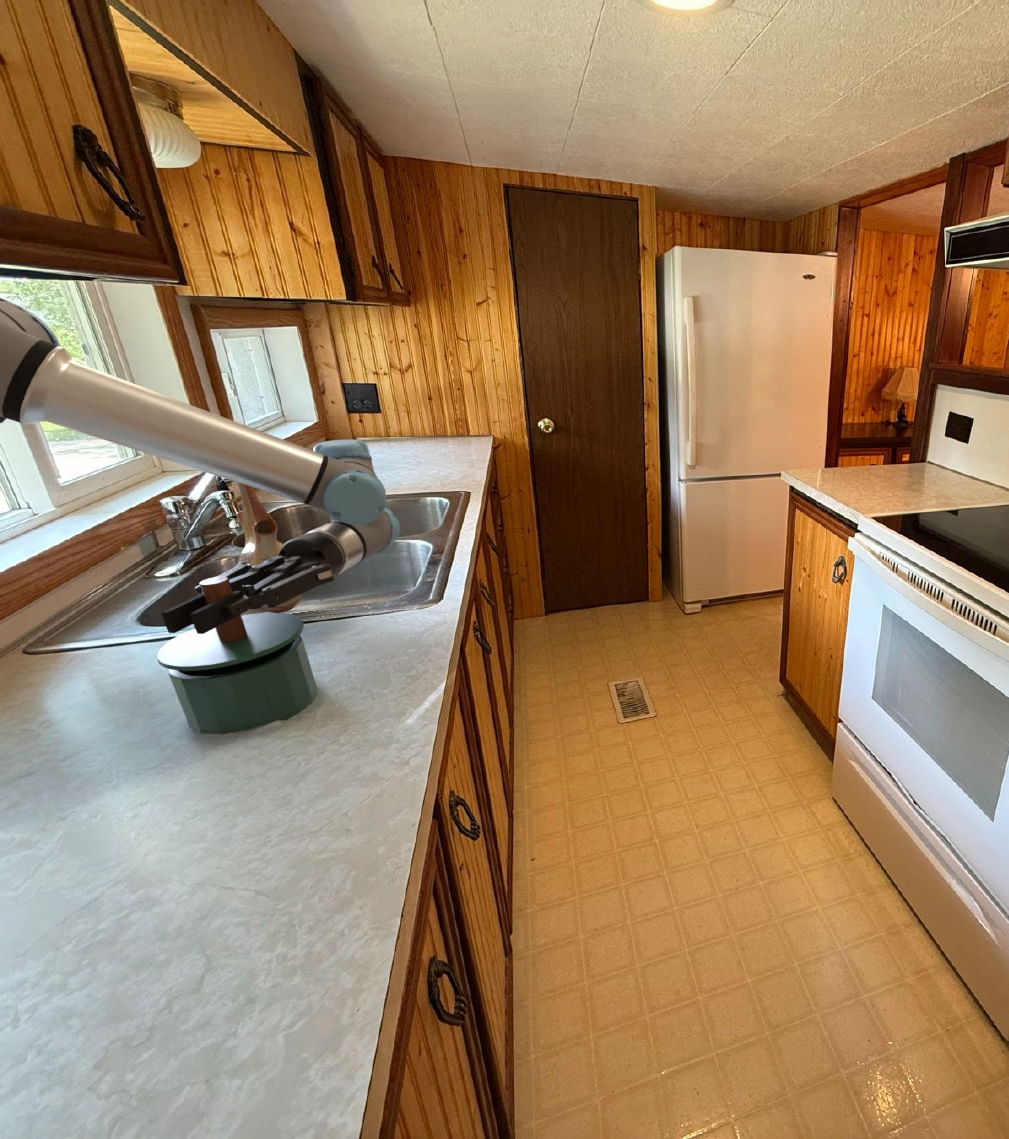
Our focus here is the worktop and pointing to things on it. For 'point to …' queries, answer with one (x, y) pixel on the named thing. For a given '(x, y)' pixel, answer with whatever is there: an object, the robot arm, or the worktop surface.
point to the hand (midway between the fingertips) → (182, 623)
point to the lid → (229, 636)
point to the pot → (247, 691)
